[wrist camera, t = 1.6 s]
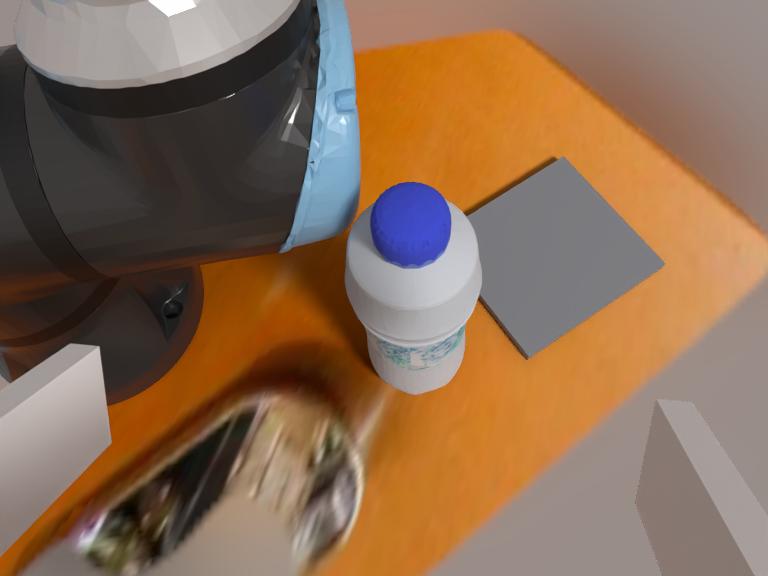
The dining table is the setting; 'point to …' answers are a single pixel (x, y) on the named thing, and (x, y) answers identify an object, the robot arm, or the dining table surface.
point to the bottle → (413, 285)
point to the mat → (554, 256)
